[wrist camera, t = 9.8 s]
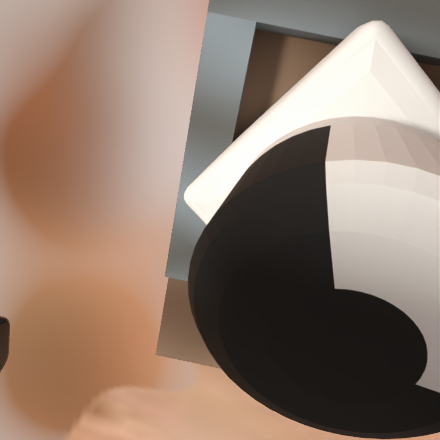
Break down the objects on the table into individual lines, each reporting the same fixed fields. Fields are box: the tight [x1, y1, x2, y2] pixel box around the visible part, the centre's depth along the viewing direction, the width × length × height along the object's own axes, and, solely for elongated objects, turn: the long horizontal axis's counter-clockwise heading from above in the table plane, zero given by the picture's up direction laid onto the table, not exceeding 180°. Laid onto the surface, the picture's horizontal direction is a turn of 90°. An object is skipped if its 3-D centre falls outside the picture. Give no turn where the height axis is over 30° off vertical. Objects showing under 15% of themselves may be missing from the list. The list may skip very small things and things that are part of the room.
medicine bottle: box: [184, 21, 440, 439], centre depth 11 cm, size 7×7×12 cm
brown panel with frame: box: [156, 0, 440, 368], centre depth 18 cm, size 20×14×2 cm
